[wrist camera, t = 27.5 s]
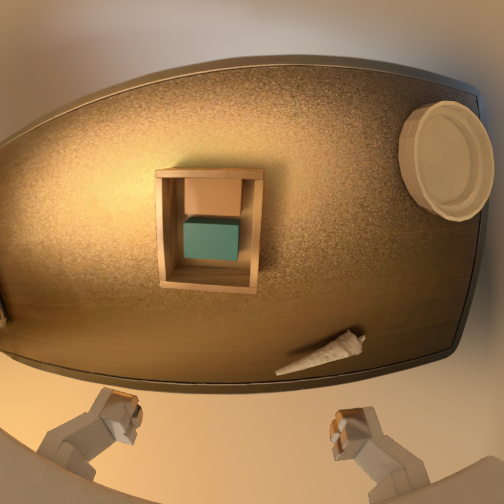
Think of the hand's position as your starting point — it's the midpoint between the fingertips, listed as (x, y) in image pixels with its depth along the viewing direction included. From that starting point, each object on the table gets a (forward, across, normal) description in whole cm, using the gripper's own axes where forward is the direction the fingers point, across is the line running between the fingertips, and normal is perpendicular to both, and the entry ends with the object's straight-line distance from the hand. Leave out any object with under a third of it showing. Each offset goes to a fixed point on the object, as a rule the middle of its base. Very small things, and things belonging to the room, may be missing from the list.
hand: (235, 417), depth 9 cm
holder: (+25, +4, -2) cm, 25 cm away
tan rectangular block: (+24, +4, -5) cm, 25 cm away
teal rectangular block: (+24, +4, 0) cm, 24 cm away
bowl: (+25, -24, -13) cm, 37 cm away
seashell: (+25, -11, +15) cm, 31 cm away
